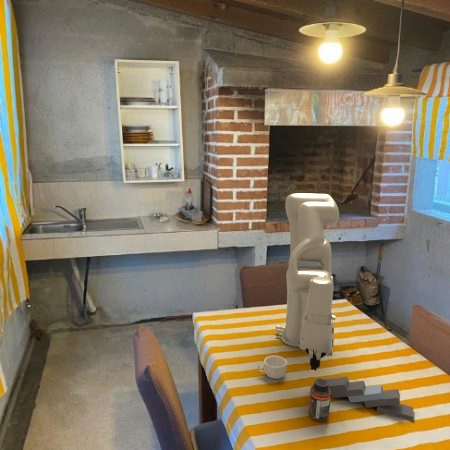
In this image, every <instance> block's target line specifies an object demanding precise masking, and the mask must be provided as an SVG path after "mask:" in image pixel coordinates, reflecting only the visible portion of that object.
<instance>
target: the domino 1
mask: <svg viewBox="0 0 450 450" xmlns="http://www.w3.org/2000/svg"><path fill="white" fill-rule="evenodd" d="M324 379H325V380H326V381H328V387H329V388H330V390H331V392H338V391H347V388H348V385H349V382H350V379H349V377H348V376H341V377H333V378H330V377H329V378H324Z"/></svg>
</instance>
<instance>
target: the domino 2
mask: <svg viewBox="0 0 450 450" xmlns="http://www.w3.org/2000/svg"><path fill="white" fill-rule="evenodd" d="M366 386H367V385H366V383H365V380H358V381H349V385H348V388H347V391H338V392H331V398H332V399H335V398H346V397H347V398H348V397H349V396H360V395H364V393H365V389H366Z"/></svg>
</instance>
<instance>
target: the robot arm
mask: <svg viewBox="0 0 450 450" xmlns="http://www.w3.org/2000/svg"><path fill="white" fill-rule="evenodd" d="M285 212H286V217H287V219H288V222H289V226H290V227H289V228H290V235H289V238H290V240H289V242H290V243H289V244H290V245H289V246H290V247H289V248H290V249H289V250H290V252H289V253H290V256H289V259H288V269H287V270H286V274H285V275H286V276H285V277H286V288H287V291H286V292H287V294H286V295H287V296H286V297H287V298H286V310H285V311H286V312H285V313H286V314H285V325H284V326H282V325H279V324H276V325H275V330H276V333H280V334H281V336H280V340H281V341H282V342H283V343H284V344H285V345H288V346H290V347H295V348H299V349H300V350H303V351H305V352H306V353H307V355H308V356H309V366H310V370H311V371H315V372H316V371H317V369H318V368H320V367H321V359H323V358H324V357H332V356H333V355H334V352H333V350H334V349H333V348H334V345H335V326H334V321H336V317H337V316H336V315H333V313H332V311H333V310H332V306H333V297H334V278H333V277H334V276H333V275H332V269H333V268H332V265H333V264H332V261H333V260H332V254H333V253H332V245H331V243H330V242H329V240H328V239H326V238H325V232H324V226H335V225H337V224H338V222H339V219H340V210H339V207H338V205H337V202H336V201H335V200H334V199H333V197H332V196H331V195H329V194H327V193H308V192H307V193H305V192H304V193H303V192H302V193H301V192H298V193H290V194H289V195H287V197H285ZM298 262H299V263H300V262H301V263H317V264H318V265H308V264H307V265H304V264H303V265H302V264H301V265H299V264H298ZM316 352H317V354H316Z"/></svg>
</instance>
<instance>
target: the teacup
mask: <svg viewBox="0 0 450 450" xmlns="http://www.w3.org/2000/svg"><path fill="white" fill-rule="evenodd" d="M287 366H288V361H287V359H286V358H284V357H283V356H281V355H269V356H266V357H265V358H264V362H263V363H260V364H259V365H258V366H257V370H258V371H259V372H261V373H264V374H266V376H267V377H269V378H270V379H272V380H273V379H274V380H278V379H282V378H283V377H284V376H285V375H286V373H287ZM260 367H263V369H260Z"/></svg>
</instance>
